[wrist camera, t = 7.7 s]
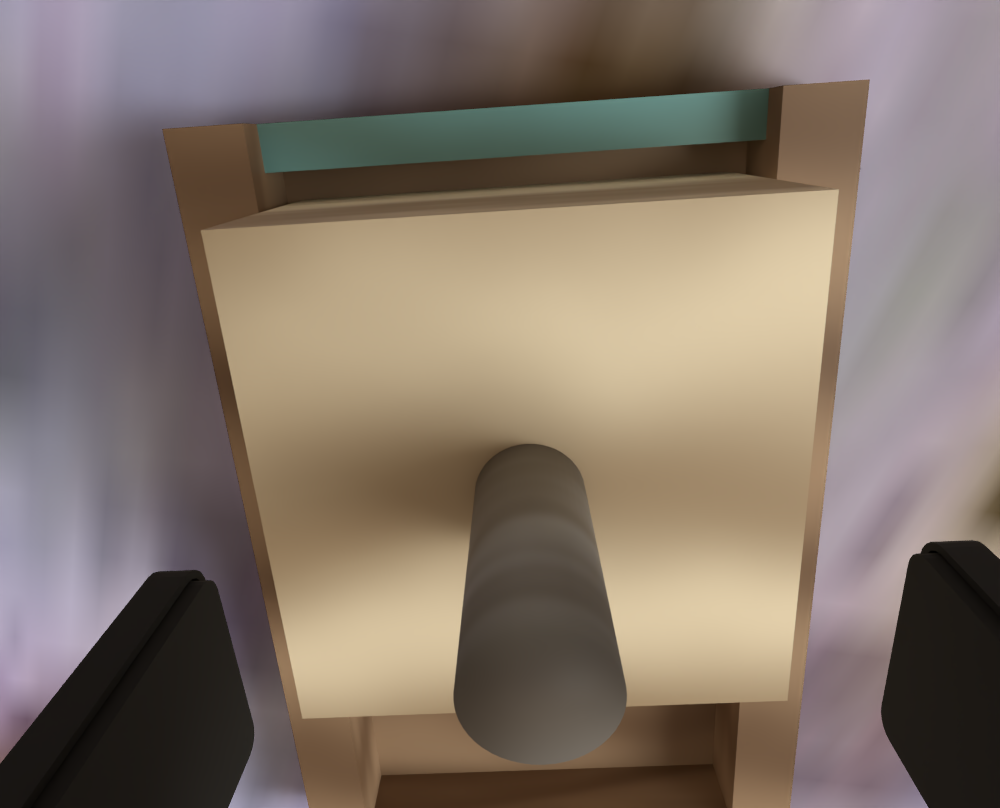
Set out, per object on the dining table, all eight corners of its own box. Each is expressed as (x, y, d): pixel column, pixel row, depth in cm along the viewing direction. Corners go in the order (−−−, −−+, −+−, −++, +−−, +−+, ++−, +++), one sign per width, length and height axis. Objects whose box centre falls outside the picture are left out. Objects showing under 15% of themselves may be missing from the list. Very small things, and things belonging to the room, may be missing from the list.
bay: (215, 130, 20) (162, 129, 17) (813, 88, 20) (870, 79, 17) (343, 796, 30) (323, 873, 26) (754, 782, 29) (783, 860, 26)
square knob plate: (302, 199, 20) (-21, 296, 8) (729, 171, 20) (1085, 229, 7) (359, 561, 24) (205, 988, 12) (711, 545, 24) (919, 971, 12)
